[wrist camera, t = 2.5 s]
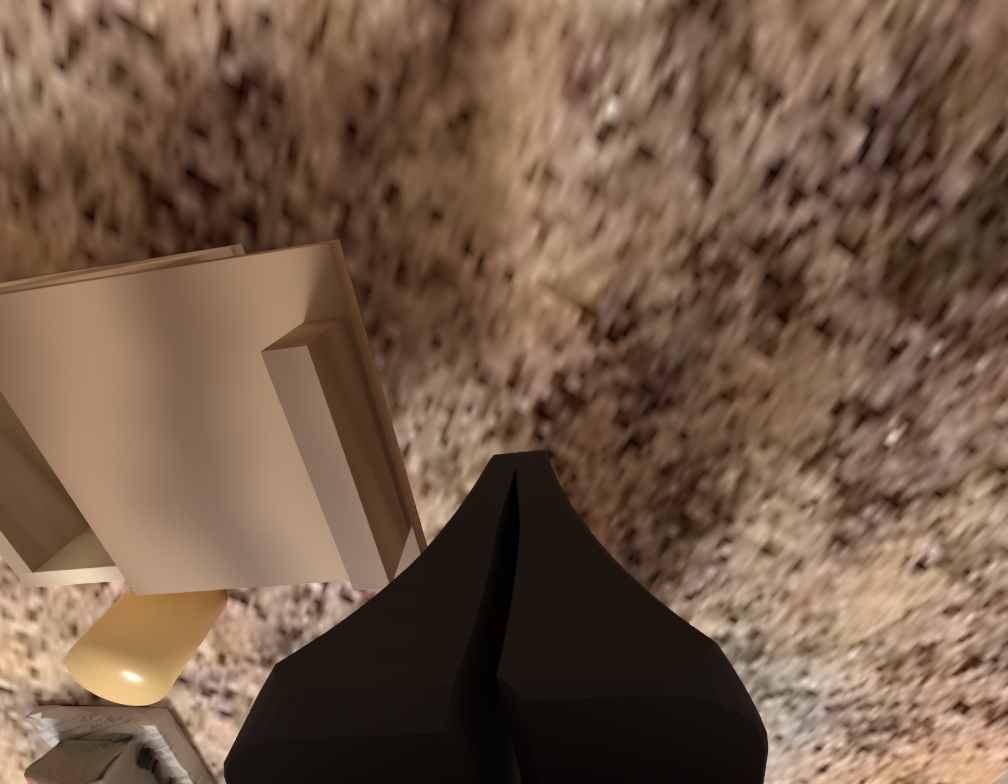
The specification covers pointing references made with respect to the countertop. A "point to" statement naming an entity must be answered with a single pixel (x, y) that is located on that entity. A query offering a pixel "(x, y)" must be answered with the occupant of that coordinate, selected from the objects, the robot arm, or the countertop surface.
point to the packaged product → (113, 747)
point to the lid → (217, 421)
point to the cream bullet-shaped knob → (143, 644)
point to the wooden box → (35, 487)
